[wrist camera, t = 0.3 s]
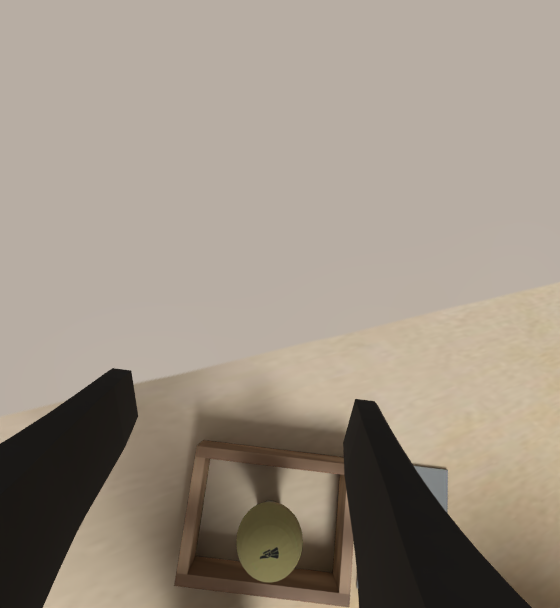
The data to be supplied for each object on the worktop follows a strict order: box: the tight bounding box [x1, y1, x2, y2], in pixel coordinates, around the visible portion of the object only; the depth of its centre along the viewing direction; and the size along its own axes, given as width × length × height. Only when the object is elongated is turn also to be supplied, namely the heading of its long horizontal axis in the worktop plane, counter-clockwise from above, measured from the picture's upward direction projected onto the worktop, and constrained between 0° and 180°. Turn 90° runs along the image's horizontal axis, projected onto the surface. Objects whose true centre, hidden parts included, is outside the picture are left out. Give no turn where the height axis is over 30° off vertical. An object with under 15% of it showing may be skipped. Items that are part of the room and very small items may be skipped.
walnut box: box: [174, 440, 353, 607], centre depth 35 cm, size 12×16×4 cm
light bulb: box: [236, 500, 303, 582], centre depth 31 cm, size 6×6×10 cm
